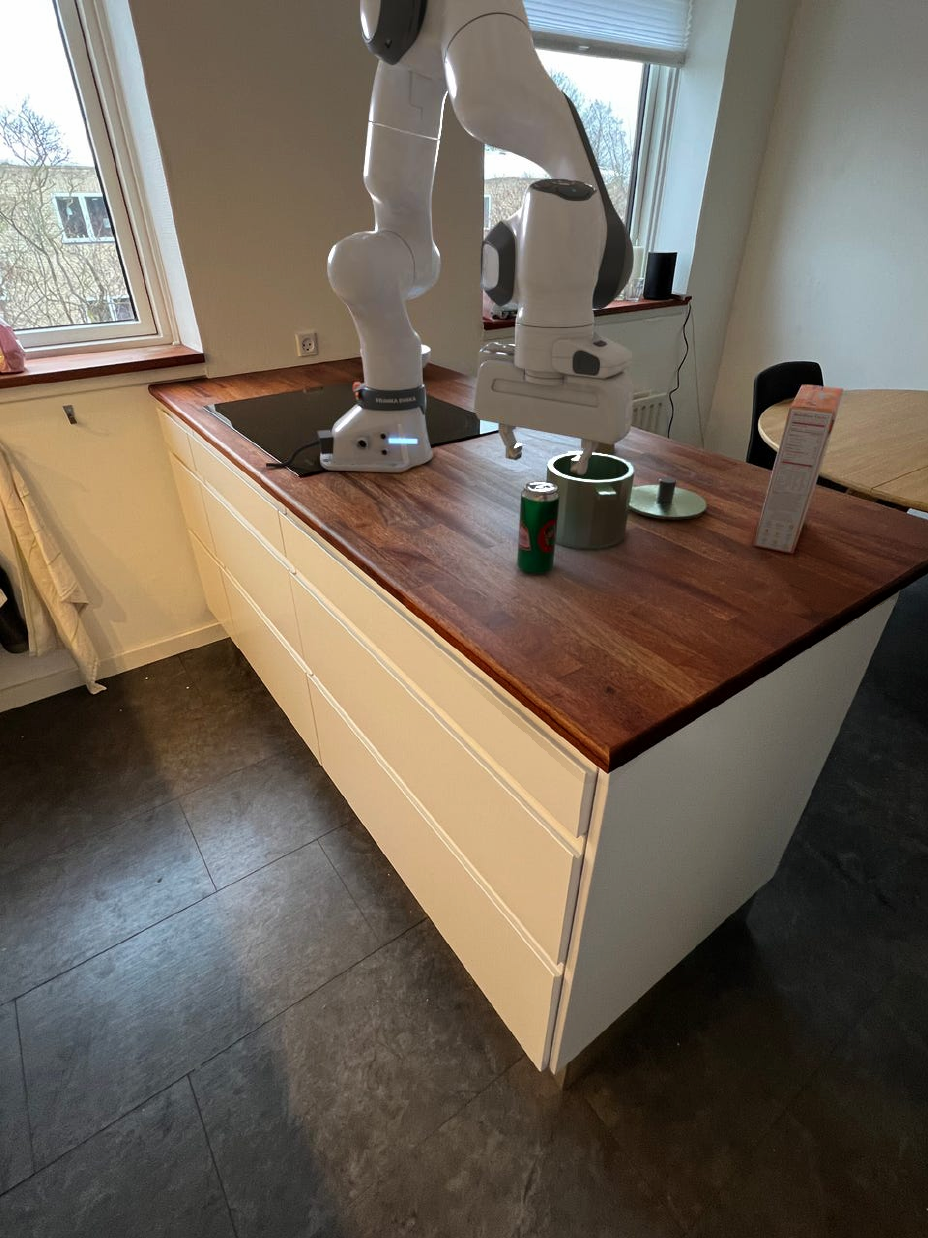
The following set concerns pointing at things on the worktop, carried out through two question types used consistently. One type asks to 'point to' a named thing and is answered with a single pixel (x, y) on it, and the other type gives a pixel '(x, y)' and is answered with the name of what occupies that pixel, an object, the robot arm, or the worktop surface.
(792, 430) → the cracker box
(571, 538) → the pot
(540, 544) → the soda can
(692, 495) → the lid
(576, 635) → the worktop surface
